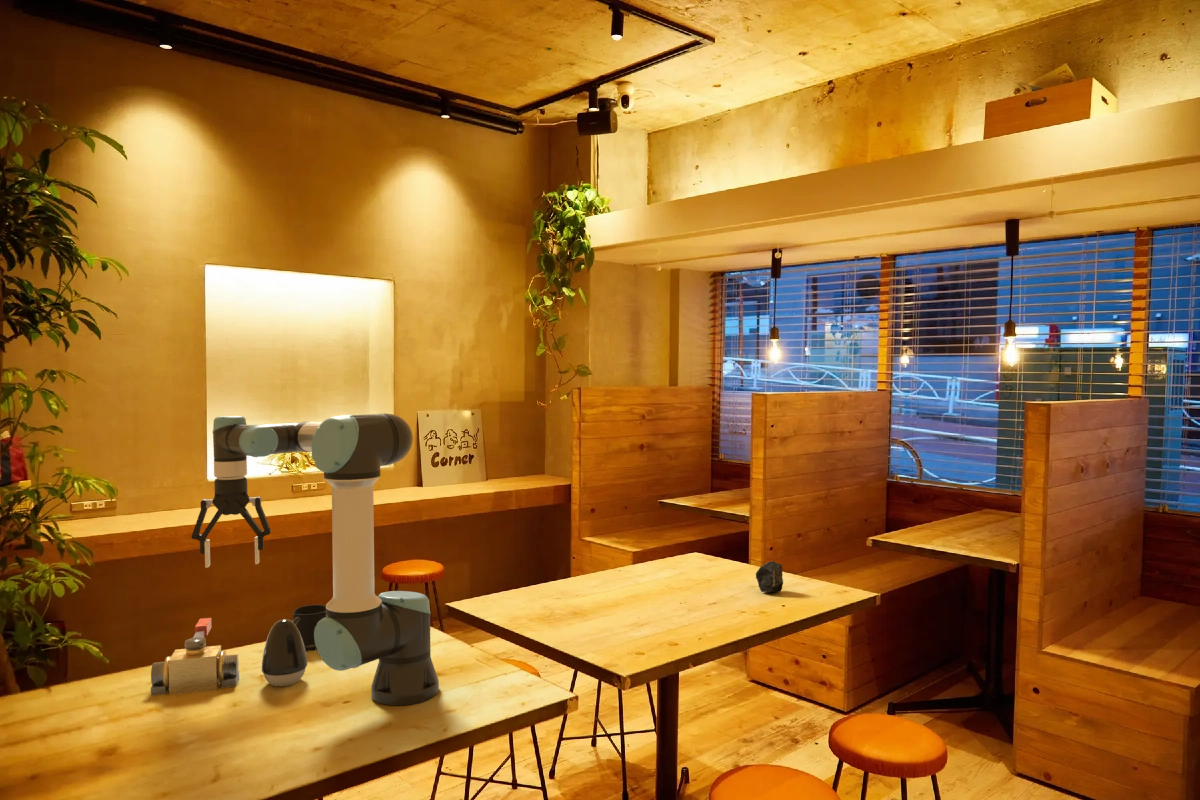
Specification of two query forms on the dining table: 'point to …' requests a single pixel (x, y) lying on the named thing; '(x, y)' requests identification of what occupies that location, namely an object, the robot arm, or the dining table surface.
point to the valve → (194, 671)
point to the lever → (199, 634)
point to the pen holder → (309, 623)
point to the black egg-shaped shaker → (284, 654)
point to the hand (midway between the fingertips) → (232, 564)
